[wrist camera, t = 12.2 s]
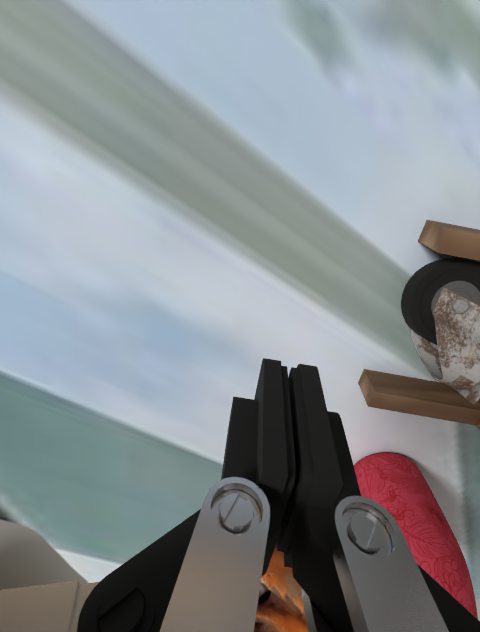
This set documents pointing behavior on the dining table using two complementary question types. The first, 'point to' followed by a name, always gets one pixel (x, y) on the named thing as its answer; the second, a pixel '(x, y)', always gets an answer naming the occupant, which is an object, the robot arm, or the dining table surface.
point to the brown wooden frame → (418, 392)
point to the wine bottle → (417, 520)
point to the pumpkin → (279, 599)
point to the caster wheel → (447, 322)
